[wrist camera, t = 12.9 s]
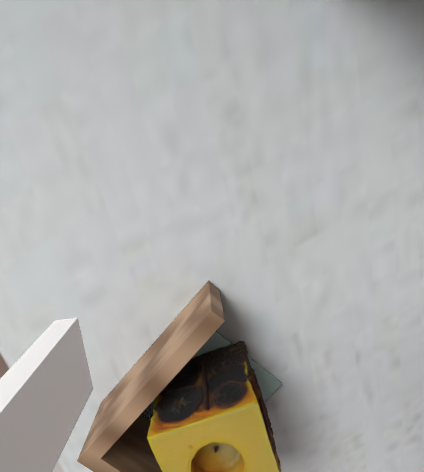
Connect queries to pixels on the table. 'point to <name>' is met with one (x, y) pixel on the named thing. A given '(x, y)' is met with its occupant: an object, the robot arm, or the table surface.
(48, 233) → the table surface
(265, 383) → the mat
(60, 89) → the table surface
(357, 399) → the table surface
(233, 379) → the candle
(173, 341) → the corner walls
